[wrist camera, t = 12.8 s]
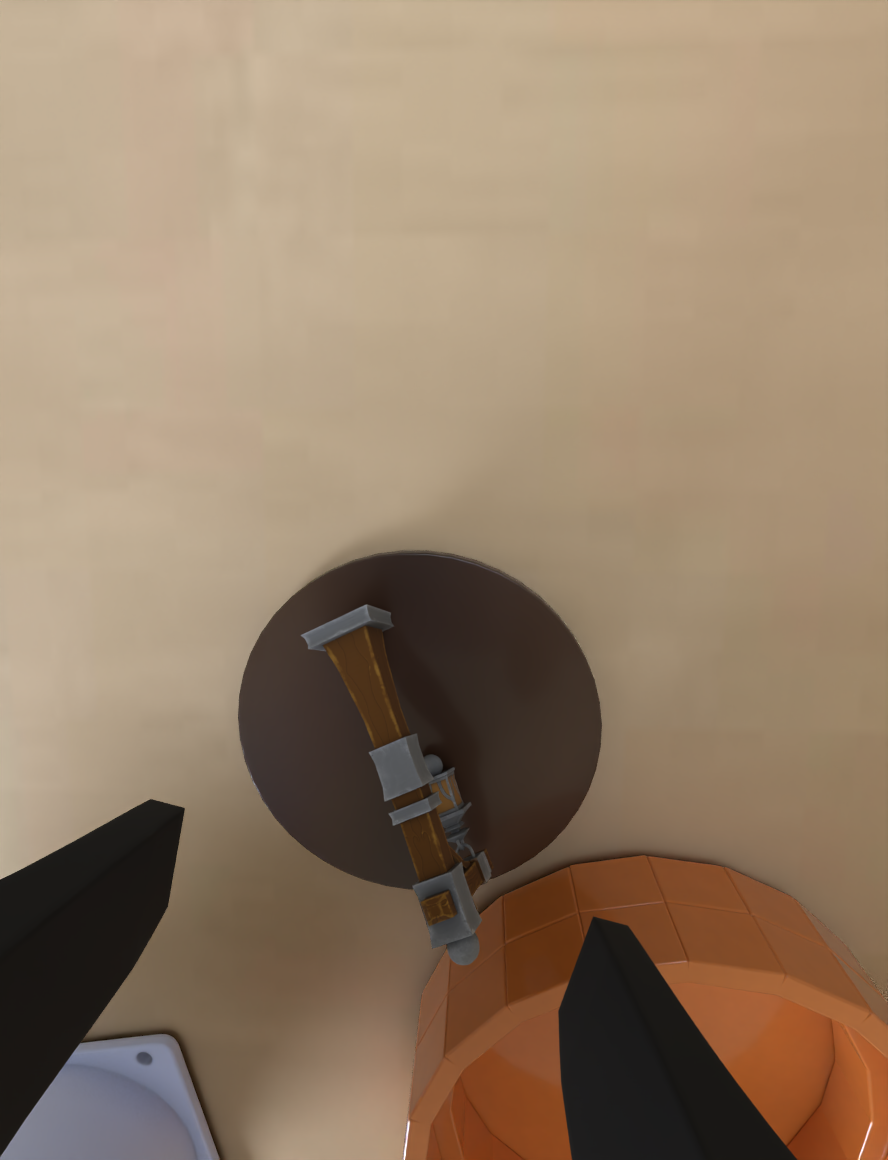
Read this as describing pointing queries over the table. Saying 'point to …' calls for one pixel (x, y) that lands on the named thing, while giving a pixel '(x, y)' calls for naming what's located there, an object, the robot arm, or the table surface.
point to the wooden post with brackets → (411, 783)
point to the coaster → (423, 713)
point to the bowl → (700, 982)
